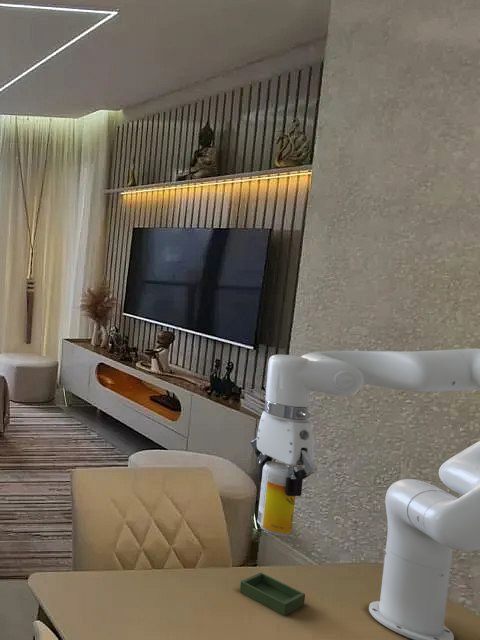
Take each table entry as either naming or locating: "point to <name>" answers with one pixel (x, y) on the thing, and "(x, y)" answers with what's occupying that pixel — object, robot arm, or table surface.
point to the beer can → (275, 500)
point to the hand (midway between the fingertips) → (279, 487)
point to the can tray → (272, 593)
